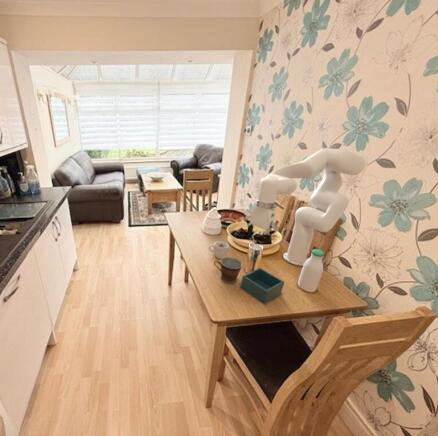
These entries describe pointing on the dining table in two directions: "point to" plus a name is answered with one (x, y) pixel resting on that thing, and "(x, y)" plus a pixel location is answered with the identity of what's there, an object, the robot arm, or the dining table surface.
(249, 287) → the tub
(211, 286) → the dining table surface
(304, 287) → the milk bottle
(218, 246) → the cup
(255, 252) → the beer glass
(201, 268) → the dining table surface
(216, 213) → the honey pot
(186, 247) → the dining table surface
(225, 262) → the ceramic cup
